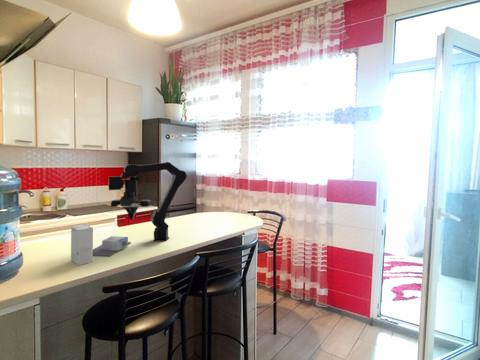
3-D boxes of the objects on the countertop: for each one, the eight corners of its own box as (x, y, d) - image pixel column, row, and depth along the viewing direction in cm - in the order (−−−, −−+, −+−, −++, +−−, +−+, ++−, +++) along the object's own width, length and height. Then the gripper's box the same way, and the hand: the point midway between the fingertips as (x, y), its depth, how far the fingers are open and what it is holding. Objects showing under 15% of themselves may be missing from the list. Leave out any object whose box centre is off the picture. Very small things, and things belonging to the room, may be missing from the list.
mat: (131, 243, 145) (131, 242, 145) (109, 256, 125) (109, 255, 125) (108, 242, 146) (108, 241, 146) (83, 255, 126) (83, 254, 126)
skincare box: (70, 261, 119) (69, 226, 118) (86, 257, 124) (84, 223, 123) (78, 266, 114) (77, 229, 113) (94, 261, 118) (93, 226, 117)
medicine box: (119, 241, 131) (101, 240, 132) (119, 250, 131) (101, 249, 132) (128, 236, 139) (111, 235, 140) (128, 245, 139) (111, 244, 140)
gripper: (104, 191, 135) (105, 223, 137) (143, 191, 135) (144, 223, 136) (115, 188, 146) (116, 218, 148) (151, 188, 146) (152, 218, 147)
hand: (131, 219), depth 144 cm, fingers closed
